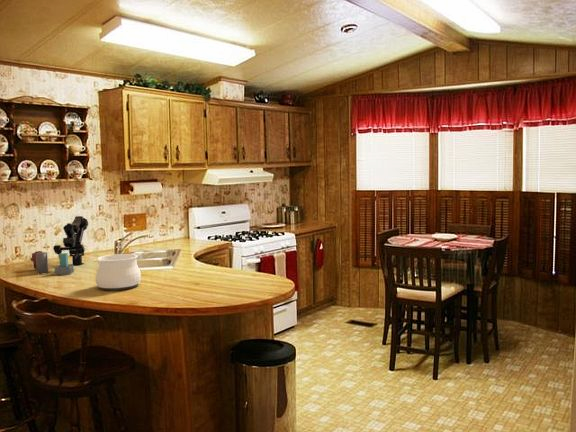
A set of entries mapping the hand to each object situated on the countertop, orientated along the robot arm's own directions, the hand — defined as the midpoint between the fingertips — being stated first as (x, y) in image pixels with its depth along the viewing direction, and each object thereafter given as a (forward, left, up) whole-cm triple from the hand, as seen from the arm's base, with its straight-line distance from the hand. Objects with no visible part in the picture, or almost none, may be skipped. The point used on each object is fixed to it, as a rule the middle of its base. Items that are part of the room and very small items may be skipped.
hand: (67, 259), depth 345 cm
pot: (+37, +59, -8) cm, 70 cm away
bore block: (+7, +3, -8) cm, 11 cm away
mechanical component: (-3, -23, -8) cm, 25 cm away
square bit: (+7, +3, -8) cm, 11 cm away
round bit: (+7, -13, -8) cm, 17 cm away
